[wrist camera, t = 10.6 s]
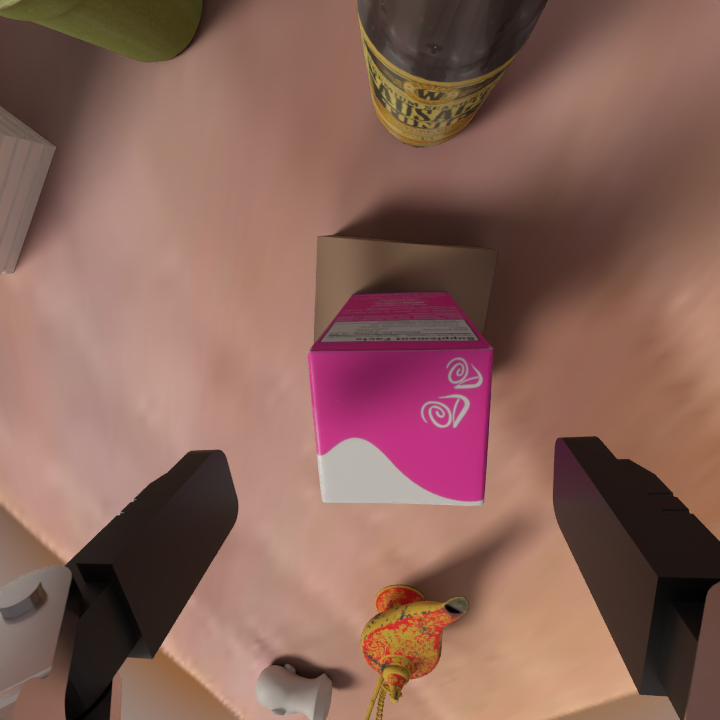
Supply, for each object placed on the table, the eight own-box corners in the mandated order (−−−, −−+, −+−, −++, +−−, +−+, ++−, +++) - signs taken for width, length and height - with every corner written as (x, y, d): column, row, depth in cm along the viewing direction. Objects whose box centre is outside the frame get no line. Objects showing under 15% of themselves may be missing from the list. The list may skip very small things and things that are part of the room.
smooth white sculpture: (265, 664, 43) (265, 650, 40) (333, 685, 43) (337, 672, 40) (249, 714, 40) (247, 703, 37) (322, 737, 39) (326, 728, 36)
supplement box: (450, 383, 23) (485, 515, 13) (354, 382, 24) (311, 507, 13) (453, 288, 21) (498, 348, 11) (349, 291, 22) (294, 350, 11)
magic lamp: (490, 541, 32) (527, 688, 22) (401, 663, 39) (398, 822, 28) (416, 510, 32) (420, 642, 22) (340, 637, 39) (314, 787, 28)
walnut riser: (481, 247, 25) (498, 251, 21) (457, 384, 29) (467, 415, 24) (334, 234, 26) (317, 236, 21) (327, 370, 29) (311, 396, 25)
